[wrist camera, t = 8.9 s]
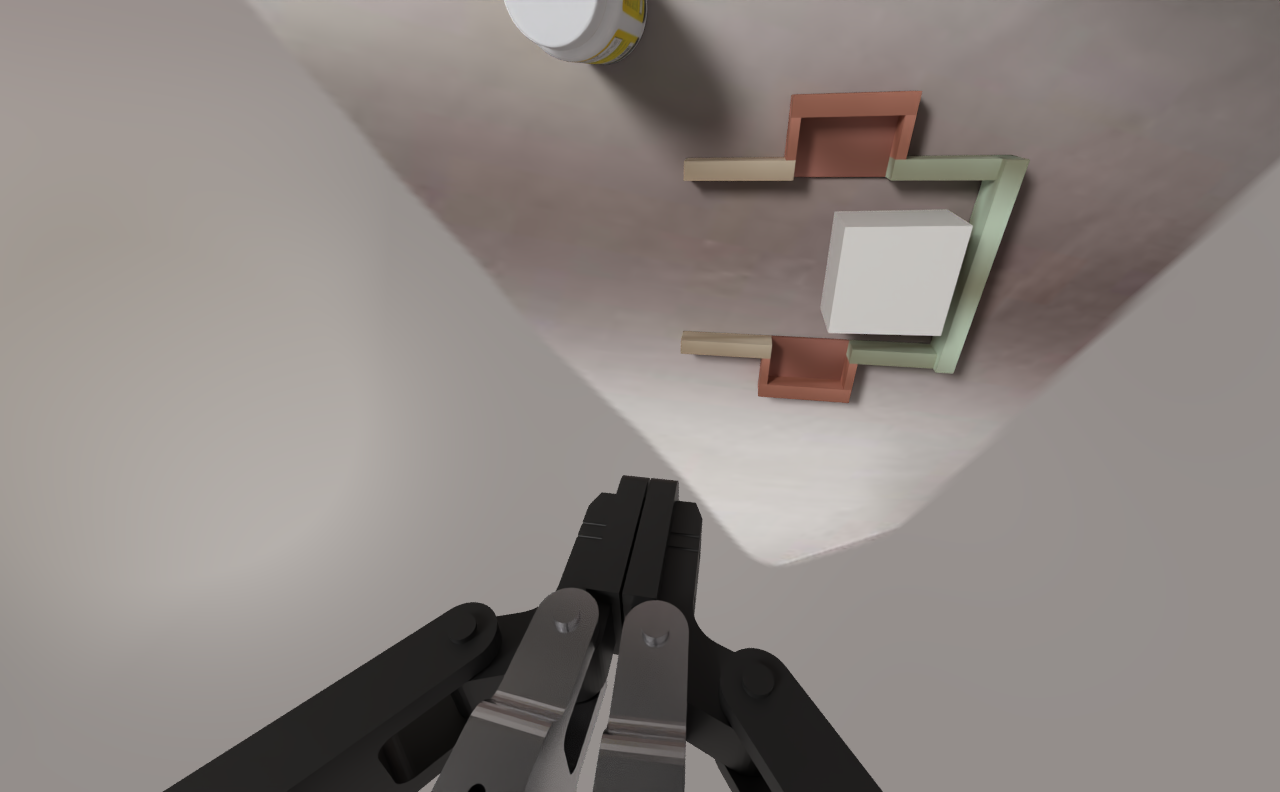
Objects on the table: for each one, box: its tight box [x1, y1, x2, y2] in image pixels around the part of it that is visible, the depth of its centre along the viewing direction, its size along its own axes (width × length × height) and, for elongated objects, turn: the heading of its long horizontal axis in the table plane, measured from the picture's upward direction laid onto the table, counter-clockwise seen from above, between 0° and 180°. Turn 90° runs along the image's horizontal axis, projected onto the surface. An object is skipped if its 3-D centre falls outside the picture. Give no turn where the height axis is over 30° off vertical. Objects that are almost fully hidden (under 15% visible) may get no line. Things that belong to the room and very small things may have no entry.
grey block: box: [821, 210, 973, 336], centre depth 28 cm, size 6×6×4 cm
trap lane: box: [681, 91, 1030, 403], centre depth 29 cm, size 18×17×2 cm
